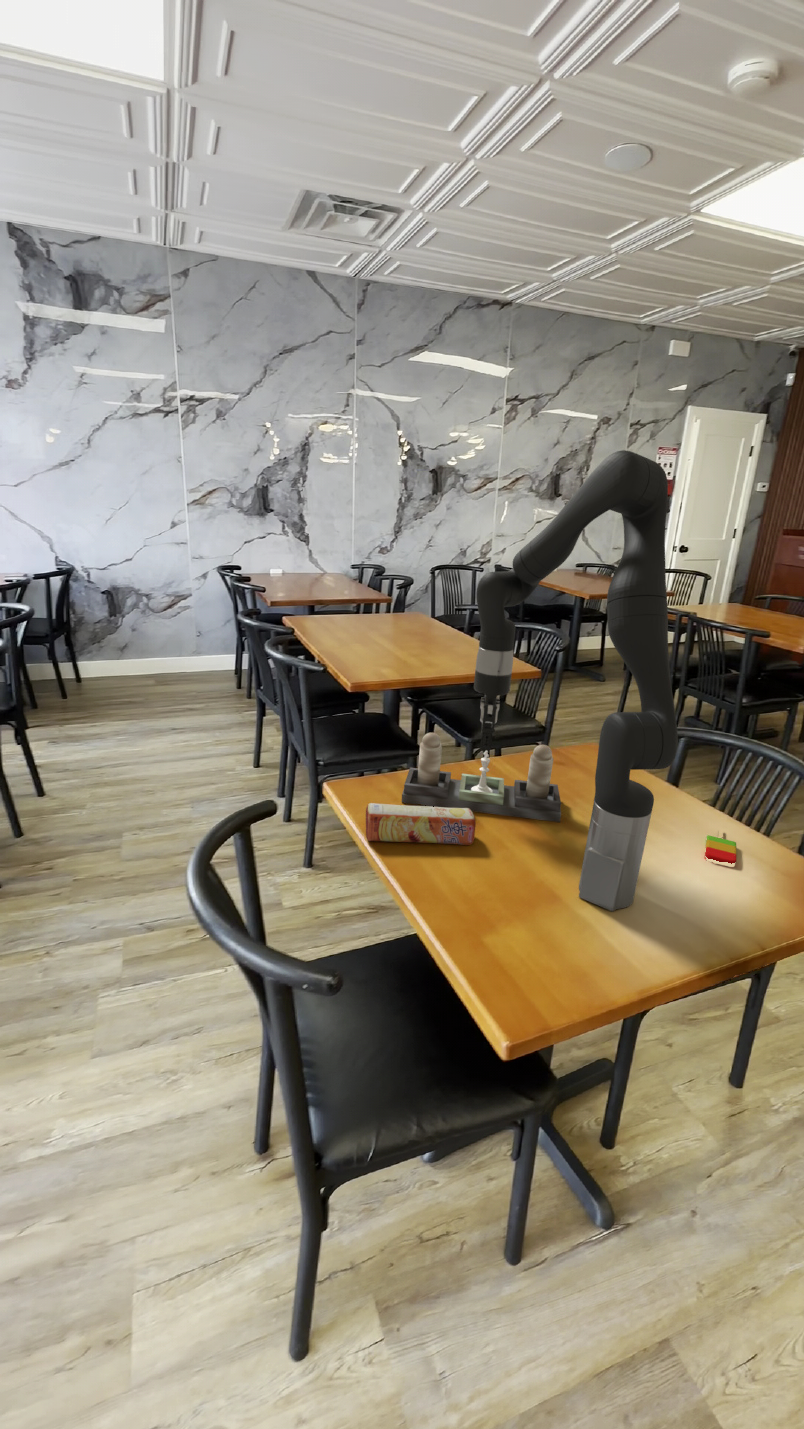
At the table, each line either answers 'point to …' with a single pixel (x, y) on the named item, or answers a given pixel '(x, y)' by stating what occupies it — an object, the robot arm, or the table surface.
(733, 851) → the popsicle
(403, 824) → the snack package
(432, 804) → the grey peg holder
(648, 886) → the table surface
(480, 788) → the chess piece
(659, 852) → the table surface
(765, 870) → the table surface
